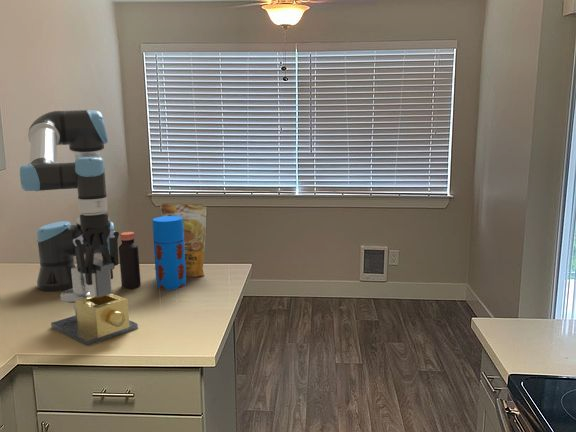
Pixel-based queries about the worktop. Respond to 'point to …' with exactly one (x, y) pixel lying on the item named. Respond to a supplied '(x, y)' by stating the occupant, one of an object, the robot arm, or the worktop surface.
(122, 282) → the bottle
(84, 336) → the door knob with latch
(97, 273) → the grey slab block
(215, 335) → the worktop surface
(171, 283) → the thermos
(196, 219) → the pancake mix bag
